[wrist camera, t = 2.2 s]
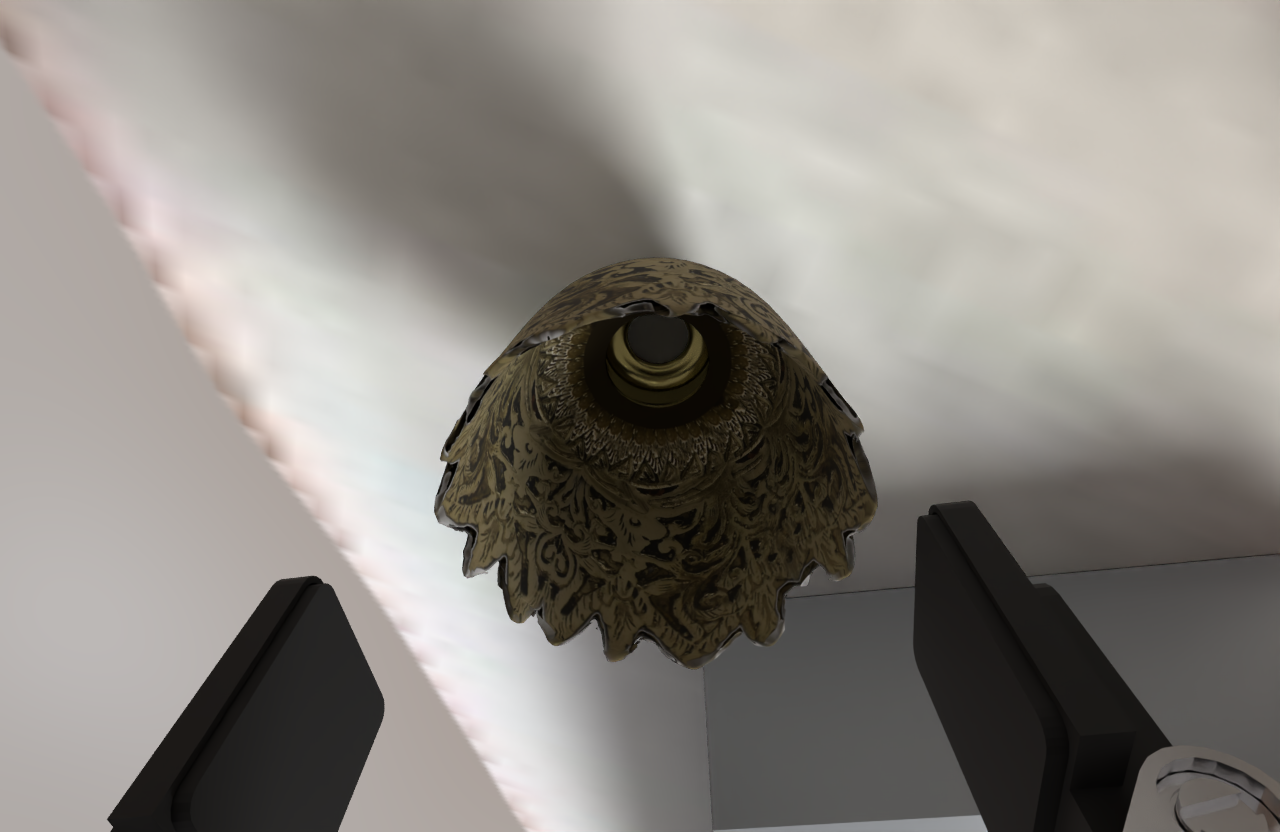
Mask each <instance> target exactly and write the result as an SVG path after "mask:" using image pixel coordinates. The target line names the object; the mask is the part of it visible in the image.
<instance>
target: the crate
mask: <svg viewBox="0 0 1280 832" xmlns="http://www.w3.org/2000/svg"><path fill="white" fill-rule="evenodd" d="M1028 579H1029V580H1030V582H1031V583H1032V584H1040V583H1046V584H1048V585H1050V586H1052V587H1053V588H1054V589H1055V590H1056V591H1057V592H1058V593H1059V594H1060V596H1061V597H1062V598H1063V600H1064V601H1065V602H1066V604H1067V605H1068V606H1069V608H1070V609H1071V610H1072V612H1073V613H1074V614H1075V616H1076V617H1077V618H1078V620H1079V621H1080V622H1081V624H1082V625H1083V626H1084V628H1085V629H1086V630H1087V632H1088V633H1089V634H1090V636H1091V637H1092V639H1093V640H1094V641H1095V643H1096V644H1097V645H1098V647H1099V648H1100V649H1101V651H1102V652H1103V653H1104V655H1105V656H1106V657H1107V659H1108V660H1109V661H1110V663H1111V664H1112V665H1113V667H1114V668H1115V669H1116V671H1117V672H1118V673H1119V675H1120V676H1121V677H1122V679H1123V680H1124V681H1125V683H1126V684H1127V685H1128V687H1129V688H1130V689H1131V691H1132V692H1133V693H1134V695H1135V696H1136V697H1137V699H1138V700H1139V701H1140V703H1141V704H1142V705H1143V707H1144V708H1145V709H1146V711H1147V712H1148V713H1149V715H1150V716H1151V717H1152V719H1153V720H1154V721H1155V723H1156V724H1157V725H1158V727H1159V728H1160V729H1161V731H1162V732H1163V734H1164V735H1165V736H1166V738H1167V739H1168V740H1169V742H1170V743H1171V744H1172V746H1178V745H1188V746H1198V747H1207V748H1210V749H1213V750H1217V751H1220V752H1223V753H1227V754H1230V755H1233V756H1235V757H1237V758H1239V759H1241V760H1243V761H1245V762H1247V763H1249V764H1251V765H1253V766H1255V767H1257V768H1259V769H1260V770H1261V771H1263V772H1264V773H1266V774H1267V775H1268V776H1270V777H1271V778H1273V779H1274V780H1275V781H1277V782H1278V783H1280V554H1276V555H1265V556H1254V557H1243V558H1232V559H1221V560H1210V561H1199V562H1187V563H1176V564H1165V565H1154V566H1143V567H1132V568H1121V569H1110V570H1099V571H1088V572H1077V573H1066V574H1055V575H1043V576H1032V577H1028ZM785 601H786V603H785V607H784V608H785V609H786V613H785V630H784V632H783V634H782V636H781V637H780V638H779V640H778V641H777V642H776V643H775V644H774V645H773V646H769V647H762V646H756V645H754V644H752V643H751V642H750V640H748V639H747V638H746V637H745V636H744V635H743V634H744V633H743V634H742V635H741V636H740V637H739V638H737V639H736V640H735V641H734V642H733V643H732V644H731V645H730V646H729V647H728V648H727V649H726V650H725V651H724V652H723V653H721V654H720V655H719V656H718V657H717V658H716V659H714V660H713V661H711V662H710V663H708V664H706V665H704V666H703V672H704V689H705V706H706V723H707V740H708V757H709V774H710V791H711V808H712V825H713V832H988V831H987V828H986V826H985V824H984V821H983V819H982V817H981V814H980V812H979V810H978V807H977V805H976V803H975V800H974V798H973V796H972V793H971V791H970V789H969V786H968V784H967V782H966V780H965V777H964V775H963V773H962V770H961V768H960V766H959V763H958V761H957V759H956V756H955V754H954V752H953V749H952V747H951V745H950V742H949V740H948V738H947V735H946V733H945V731H944V728H943V726H942V724H941V721H940V719H939V717H938V714H937V712H936V710H935V707H934V705H933V703H932V700H931V698H930V696H929V693H928V691H927V689H926V686H925V684H924V682H923V679H922V677H921V675H920V672H919V670H918V667H917V664H916V661H915V656H914V650H913V629H914V601H915V587H911V588H899V589H888V590H877V591H866V592H855V593H844V594H833V595H822V596H811V597H800V598H789V599H785ZM783 617H784V615H783Z"/></svg>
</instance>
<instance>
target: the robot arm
mask: <svg viewBox="0 0 1280 832" xmlns="http://www.w3.org/2000/svg"><path fill="white" fill-rule="evenodd" d="M913 650H914V656H915V661H916V664H917V667H918V670H919V672H920V675H921V677H922V679H923V682H924V684H925V686H926V689H927V691H928V693H929V696H930V698H931V700H932V703H933V705H934V707H935V710H936V712H937V714H938V717H939V719H940V721H941V724H942V726H943V728H944V731H945V733H946V735H947V738H948V740H949V742H950V745H951V747H952V749H953V752H954V754H955V756H956V759H957V761H958V763H959V766H960V768H961V770H962V773H963V775H964V777H965V780H966V782H967V784H968V786H969V789H970V791H971V793H972V796H973V798H974V800H975V803H976V805H977V807H978V810H979V812H980V814H981V817H982V819H983V821H984V824H985V826H986V828H987V831H988V832H1280V783H1278V782H1277V781H1275V780H1274V779H1273V778H1271V777H1270V776H1268V775H1267V774H1266V773H1264V772H1263V771H1261V770H1260V769H1259V768H1257V767H1255V766H1253V765H1251V764H1249V763H1247V762H1245V761H1243V760H1241V759H1239V758H1237V757H1235V756H1233V755H1230V754H1227V753H1223V752H1220V751H1217V750H1213V749H1210V748H1207V747H1198V746H1188V745H1178V746H1172V744H1171V743H1170V742H1169V740H1168V739H1167V738H1166V736H1165V735H1164V734H1163V732H1162V731H1161V729H1160V728H1159V727H1158V725H1157V724H1156V723H1155V721H1154V720H1153V719H1152V717H1151V716H1150V715H1149V713H1148V712H1147V711H1146V709H1145V708H1144V707H1143V705H1142V704H1141V703H1140V701H1139V700H1138V699H1137V697H1136V696H1135V695H1134V693H1133V692H1132V691H1131V689H1130V688H1129V687H1128V685H1127V684H1126V683H1125V681H1124V680H1123V679H1122V677H1121V676H1120V675H1119V673H1118V672H1117V671H1116V669H1115V668H1114V667H1113V665H1112V664H1111V663H1110V661H1109V660H1108V659H1107V657H1106V656H1105V655H1104V653H1103V652H1102V651H1101V649H1100V648H1099V647H1098V645H1097V644H1096V643H1095V641H1094V640H1093V639H1092V637H1091V636H1090V634H1089V633H1088V632H1087V630H1086V629H1085V628H1084V626H1083V625H1082V624H1081V622H1080V621H1079V620H1078V618H1077V617H1076V616H1075V614H1074V613H1073V612H1072V610H1071V609H1070V608H1069V606H1068V605H1067V604H1066V602H1065V601H1064V600H1063V598H1062V597H1061V596H1060V594H1059V593H1058V592H1057V591H1056V590H1055V589H1054V588H1053V587H1052V586H1050V585H1048V584H1046V583H1040V584H1032V583H1031V582H1030V580H1029V579H1028V577H1027V576H1026V575H1025V573H1024V572H1023V570H1022V569H1021V568H1020V566H1019V565H1018V563H1017V562H1016V561H1015V559H1014V558H1013V556H1012V555H1011V554H1010V552H1009V551H1008V549H1007V548H1006V547H1005V545H1004V544H1003V542H1002V541H1001V539H1000V538H999V537H998V535H997V534H996V532H995V531H994V530H993V528H992V527H991V525H990V524H989V523H988V521H987V520H986V518H985V517H984V516H983V514H982V513H981V511H980V510H979V509H978V507H977V506H976V505H975V504H974V503H973V502H972V501H962V502H953V503H945V504H936V505H932V506H931V507H930V509H929V515H925V516H920V517H919V518H918V522H917V544H916V572H915V601H914V629H913ZM383 716H384V699H383V696H382V693H381V691H380V689H379V687H378V685H377V682H376V680H375V678H374V676H373V674H372V672H371V669H370V667H369V665H368V663H367V661H366V659H365V656H364V655H363V652H362V650H361V648H360V646H359V643H358V642H357V639H356V637H355V635H354V633H353V630H352V629H351V626H350V624H349V622H348V620H347V617H346V615H345V613H344V611H343V609H342V607H341V605H340V602H339V600H338V598H337V596H336V594H335V591H334V589H333V588H332V586H331V585H329V584H324V583H323V582H322V580H321V579H319V578H318V577H317V576H307V577H298V578H289V579H281V580H279V581H277V582H276V583H275V584H274V585H273V586H272V587H271V589H270V590H269V591H268V593H267V594H266V596H265V597H264V598H263V600H262V601H261V603H260V604H259V606H258V607H257V608H256V610H255V611H254V613H253V614H252V615H251V617H250V618H249V620H248V621H247V623H246V624H245V625H244V627H243V628H242V629H241V631H240V632H239V634H238V635H237V637H236V638H235V640H234V641H233V642H232V644H231V645H230V646H229V648H228V649H227V651H226V652H225V653H224V655H223V656H222V658H221V659H220V660H219V662H218V663H217V665H216V666H215V668H214V669H213V671H212V672H211V673H210V675H209V676H208V677H207V679H206V680H205V682H204V683H203V685H202V686H201V687H200V689H199V690H198V692H197V693H196V694H195V696H194V698H193V699H192V700H191V702H190V703H189V704H188V706H187V707H186V709H185V710H184V711H183V713H182V714H181V716H180V717H179V718H178V720H177V721H176V723H175V724H174V725H173V727H172V728H171V730H170V731H169V733H168V734H167V735H166V737H165V738H164V740H163V741H162V742H161V744H160V745H159V747H158V748H157V749H156V751H155V752H154V754H153V755H152V757H151V758H150V759H149V761H148V762H147V764H146V765H145V766H144V768H143V769H142V771H141V772H140V774H139V775H138V776H137V778H136V779H135V781H134V782H133V783H132V785H131V786H130V788H129V789H128V790H127V792H126V793H125V795H124V796H123V797H122V799H121V800H120V802H119V803H118V805H117V806H116V807H115V809H114V810H113V812H112V813H111V814H110V816H109V817H108V819H107V820H108V821H109V822H110V824H111V825H112V826H113V829H112V830H111V832H338V830H339V827H340V825H341V822H342V819H343V817H344V815H345V812H346V810H347V807H348V805H349V802H350V800H351V797H352V795H353V792H354V790H355V787H356V785H357V782H358V780H359V777H360V775H361V772H362V770H363V767H364V765H365V762H366V760H367V757H368V755H369V752H370V750H371V747H372V745H373V743H374V740H375V737H376V735H377V732H378V730H379V728H380V725H381V722H382V719H383Z"/></svg>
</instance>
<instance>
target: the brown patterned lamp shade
mask: <svg viewBox="0 0 1280 832" xmlns="http://www.w3.org/2000/svg"><path fill="white" fill-rule="evenodd" d="M648 314H658V315H661V316H664V317H671V318H672V317H678V318H680V319H682V320H684V322H685V324H686V326H687V329H688V335H689V336H688V343H687V346H686V348H685V350H684V351H683V353H682V354H681V355H680V356H679V357H678V358H676V359H675V360H673V361H671V362H668V363H663V364H653V363H648V362H646V361H643V360H642V359H640V358H639V357H637V356H636V355H635V354H634V352H633V351H632V350H631V348H630V346H629V343H628V329H629V326H630V324H631V322H632V320H633V319H635V318H637V317H640V316H643V315H648ZM483 375H484V377H483V378H482V380H481V381H480V383H479V384H478V385H477V387H476V388H475V390H474V391H473V392H472V393H471V395H470V397H469V400H468V405H467V407H466V409H465V411H464V413H463V414H462V416H461V418H460V419H459V420H457V422H456V424H455V426H454V429H453V430H452V432H451V434H450V436H449V437H448V439H447V440H446V442H445V444H444V447H443V449H442V452H441V457H440V460H441V461H446V462H447V465H446V469H445V472H444V474H443V477H442V480H441V484H440V486H439V489H438V493H437V495H436V499H435V506H434V513H435V515H436V518H437V520H438V522H439V523H440V524H443V525H445V526H447V527H450V528H453V529H454V530H456V531H458V530H459V531H461V532H463V531H465V532H466V533H467V534H468V537H467V542H466V545H465V548H464V550H463V557H464V559H463V567H462V571H463V574H464V576H465V577H466V578H470V577H474V576H476V575H479V574H484V573H486V571H487V570H489V569H490V568H491V567H492V566H493V565H494V564H495V563H496V562H497V561H499V567H498V580H497V581H498V586H499V587H500V588H501V589H503V595H504V600H505V605H506V609H507V612H508V615H509V617H510V619H511V620H512V621H514V622H516V623H523V622H525V621H526V620H527V618H528V617H529V616H530V615H532V616H533V617H534V616H535V614H537V618H538V624H539V625H540V626H541V628H542V630H543V631H544V633H545V635H546V638H547V640H548V641H549V643H551V644H552V645H554V646H560V645H563V644H566V643H568V642H569V641H571V640H572V639H573V638H575V637H576V636H578V635H579V634H581V633H582V632H583V631H584V630H585V629H586V628H587V626H589V624H591V623H592V622H591V623H589V622H590V621H591V620H593V619H596V620H597V623H598V626H599V628H600V631H601V634H602V640H603V647H604V650H603V651H604V654H605V656H606V658H607V661H608V662H616V661H620V660H622V659H625V658H626V656H627V655H628V654H630V653H632V652H633V651H634V650H635V649H636V648H637V644H638V643H639V642H640V641H637V642H636V643H635V641H636V639H638V638H639V637H643V638H640V639H639V640H642V639H643V640H645V641H649V642H652V643H654V644H656V645H657V646H658V647H659V649H660V651H661V652H662V653H663V654H664V655H665V656H666V657H667V658H669V659H671V660H672V661H674V662H675V663H677V664H679V665H681V666H684V667H686V668H689V669H698V668H701V667H703V666H704V665H706V664H708V663H710V662H711V661H713V660H714V659H716V658H717V657H718V656H719V655H720V654H721V653H723V652H724V651H725V650H726V649H727V648H728V647H729V646H730V645H731V644H732V643H733V642H734V641H735V640H736V639H737V638H739V637H740V636H741V635H742V634H743V633H744V634H743V635H744V636H745V637H746V638H747V639H748V640H750V642H751V643H752V644H754V645H756V646H762V647H769V646H773V645H774V644H775V643H776V642H777V641H778V640H779V638H780V637H781V636H782V634H783V632H784V630H785V613H786V609H785V608H784V607H785V603H786V601H785V598H786V596H787V595H786V596H785V594H786V593H788V592H789V591H790V590H791V589H792V588H793V587H795V586H807V585H808V583H809V580H810V575H811V574H812V573H813V572H812V571H813V570H815V569H816V568H817V567H818V566H819V565H820V566H822V567H823V568H824V570H825V571H826V574H828V575H830V576H831V577H830V578H829V579H828V580H832V581H840V580H842V579H844V578H846V577H848V576H849V575H850V574H851V572H852V570H853V568H854V562H855V548H854V539H853V535H854V534H855V533H857V532H862V531H864V530H865V529H866V528H867V527H868V526H869V524H870V523H871V521H872V519H873V517H874V515H875V512H876V509H877V507H878V502H877V493H876V488H875V484H874V480H873V476H872V473H871V469H870V465H869V462H868V459H867V457H866V455H865V453H864V451H863V448H862V446H861V443H860V441H859V436H860V435H861V433H863V432H864V428H863V425H862V423H861V421H860V419H859V417H858V416H857V414H856V413H855V411H854V410H853V409H852V408H851V407H850V405H849V404H848V403H847V402H846V401H845V400H844V398H843V397H842V396H841V394H840V393H839V392H838V390H837V389H836V388H835V387H834V385H833V384H832V383H831V381H830V380H829V378H828V376H827V375H826V374H825V373H824V371H823V370H822V369H821V367H820V366H819V365H818V363H817V362H816V361H815V359H814V358H813V357H812V355H811V354H810V353H809V351H808V350H807V349H806V348H805V346H804V345H803V344H802V342H801V341H800V340H799V339H798V337H797V336H796V335H795V334H794V332H793V331H792V330H791V329H790V327H789V326H788V325H787V324H786V323H785V322H784V321H783V320H782V319H781V317H780V316H779V315H778V314H777V313H776V312H775V311H774V310H773V309H772V308H771V307H770V305H768V304H767V303H766V302H765V301H764V300H763V299H761V298H760V297H759V296H758V295H757V294H756V293H754V292H753V291H752V290H751V289H749V288H748V287H746V286H745V285H743V284H742V283H740V282H739V281H737V280H736V279H734V278H732V277H730V276H728V275H726V274H724V273H722V272H720V271H718V270H715V269H712V268H710V267H707V266H704V265H702V264H698V263H694V262H690V261H686V260H679V259H672V258H643V259H634V260H629V261H624V262H620V263H616V264H613V265H610V266H607V267H604V268H601V269H599V270H596V271H594V272H592V273H590V274H587V275H585V276H584V277H582V278H580V279H578V280H577V281H575V282H573V283H572V284H570V285H569V286H568V287H566V288H565V289H564V290H562V291H561V292H560V293H558V294H557V295H556V296H554V297H553V298H552V299H551V300H550V301H549V302H548V303H547V304H545V305H544V306H543V307H542V308H541V309H540V310H539V311H538V312H537V313H536V314H535V315H534V316H533V317H532V318H531V319H530V321H529V322H528V323H527V324H526V325H525V326H524V327H523V329H522V330H521V331H520V332H519V333H518V334H517V336H516V337H515V338H514V339H513V340H512V342H511V343H510V344H509V345H508V346H507V348H506V349H505V350H504V351H503V352H502V354H501V355H500V356H499V357H498V358H497V359H496V360H495V361H494V362H493V363H492V364H491V365H490V366H489V367H488V368H487V370H486V371H485V372H484V373H483ZM457 526H458V527H457ZM487 573H488V572H487ZM487 573H486V574H487ZM784 596H785V598H784ZM536 611H537V613H536ZM783 615H784V617H783ZM596 629H597V628H596ZM634 643H635V644H634Z"/></svg>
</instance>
